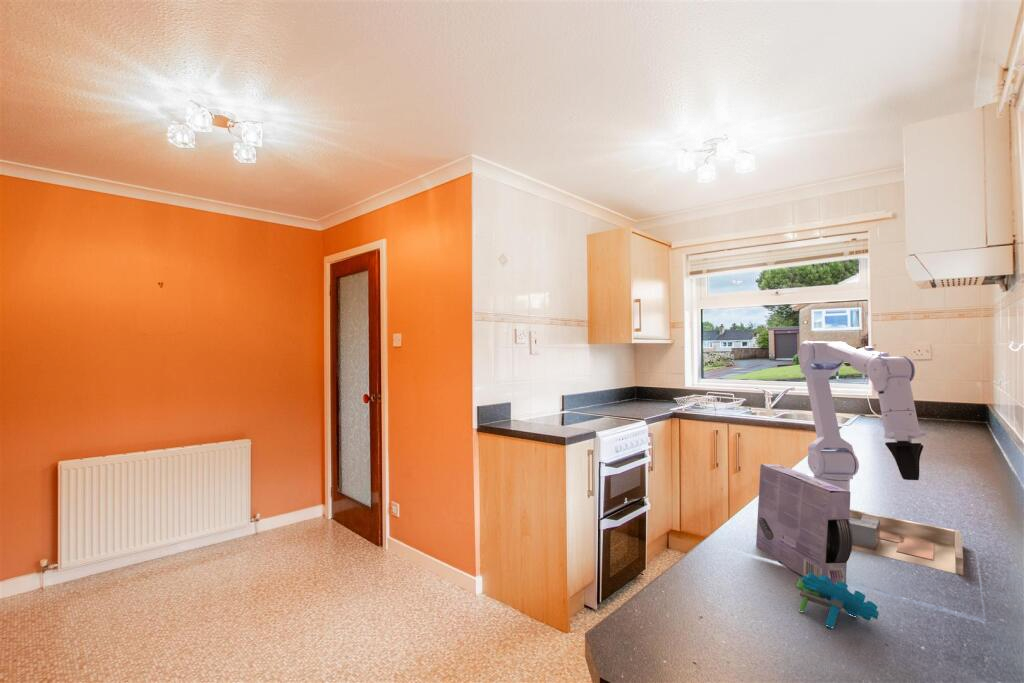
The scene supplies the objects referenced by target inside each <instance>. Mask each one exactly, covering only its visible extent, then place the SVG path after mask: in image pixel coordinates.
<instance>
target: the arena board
mask: <svg viewBox="0 0 1024 683" xmlns="http://www.w3.org/2000/svg"><path fill="white" fill-rule="evenodd" d="M863 515H864V516H869V517H875V518H880V540H879V543H878V546H877V549H876V551H874V550H870V549H866V548H862V547H857V546H853V545H852V550H856V551H860V552H863V553H869V554H872V555H876V556H880V557H884V558H885V557H886V558H890V559H893V560H897V561H902V562H905V563H906V562H907V563H910V564H914V565H918V566H919V565H920V566H923V567H927V568H930V569H935V570H939V571H944V572H948V573H952V574H956V575H961V576H964V553H963V552H964V550H963V539H962V531H961V530H956V529H952V528H947V527H946V528H945V527H941V526H935V525H931V524H926V523H921V522H916V521H910V520H905V519H901V518H895V517H889V516H886V515H885V516H884V515H880V514H875V513H869V512H865V511H859V510H854V509H853V510H850V516H849V518H853V519H858V520H861V518H862V516H863Z"/></svg>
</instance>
